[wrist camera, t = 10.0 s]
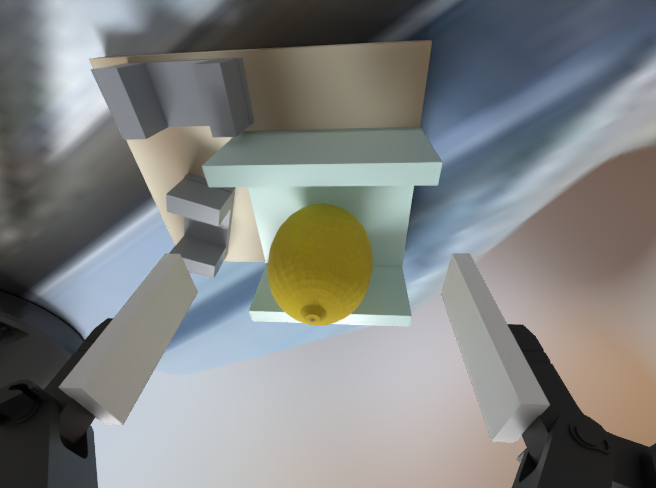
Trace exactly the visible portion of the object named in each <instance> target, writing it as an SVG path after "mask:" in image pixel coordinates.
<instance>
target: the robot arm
mask: <svg viewBox="0 0 656 488" xmlns="http://www.w3.org/2000/svg"><path fill="white" fill-rule="evenodd" d="M197 293H198V292H197V289H196V287H195V285H194V283H193V281H192V279H191V276H190V274H189V272H188V270H187V268H186V266H185V263H184V261H183V259H182V257H181V255H180V254H165V255H164V256H163V257H162V259H161V260H160V261H159V262H158V263H157V265H156V266H155V267H154V268H153V270H152V271H151V272H150V273H149V275H148V276H147V277H146V278H145V280H144V281H143V282H142V283H141V285H140V286H139V287H138V288H137V290H136V291H135V292H134V293H133V295H132V296H131V297H130V298H129V300H128V301H127V302H126V303H125V305H124V306H123V307H122V308H121V310H120V311H119V312H118V313H117V315H116V316H115V317H114V318H108V319H106V320H105V321H104V322H102V323H101V324H100V325H99V326H97V327H96V328H95V329H94V330H93V331H92V332H91V333H90V335H89V336H88V337H87V338H86V339H85V342H83V340H82V339H81V338H80V336H79V335H78V334H77V333H76V332H75V331H74V330H73V329H72V328H71V327H69V326H68V325H67V324H66V323H64V322H63V321H62V320H60V319H59V318H57V317H56V316H54V315H53V314H51V313H49V312H48V311H46V310H44V309H42V308H40V307H38V306H36V305H34V304H32V303H30V302H28V301H26V300H23V299H21V298H18V297H16V296H13V295H10V294H7V293H4V292H1V291H0V488H98V483H97V471H96V457H95V445H94V432H93V429H92V426H90V425H91V423H92V421H93V420H94V418H95V417H96V418H97V419H98V420H99V421H101V422H102V423H103V424H113V425H114V424H115V425H123V424H124V423H125V421H126V419H127V417H128V416H129V414H130V412H131V410H132V408H133V407H134V405H135V403H136V401H137V400H138V398H139V396H140V394H141V393H142V391H143V389H144V387H145V385H146V384H147V382H148V380H149V378H150V376H151V375H152V373H153V371H154V369H155V368H156V366H157V364H158V362H159V361H160V359H161V357H162V355H163V353H164V352H165V350H166V348H167V346H168V345H169V343H170V341H171V339H172V337H173V336H174V334H175V332H176V330H177V329H178V327H179V325H180V323H181V321H182V320H183V318H184V316H185V314H186V313H187V311H188V309H189V307H190V305H191V304H192V302H193V300H194V298H195V297H196V295H197ZM441 296H442V298H443V302H444V305H445V307H446V310H447V313H448V316H449V319H450V322H451V325H452V327H453V331H454V334H455V337H456V339H457V342H458V345H459V348H460V351H461V354H462V357H463V360H464V362H465V366H466V369H467V371H468V374H469V377H470V380H471V383H472V386H473V388H474V392H475V395H476V397H477V400H478V403H479V406H480V409H481V412H482V415H483V418H484V420H485V423H486V427H487V429H488V432H489V435H490V438H491V441H492V442H512V443H516V442H517V440H518V439H519V438H520V437H521V436H522V437H523V439H524V442H525V444H526V446H527V448H526V449H525V450H524V451H523V452H522V453H521V454H520V455H519V457H518V458H517V460H518V461H519V462H521V463H520V466H519V469H518V472H517V475H516V478H515V480H514V483H513V486H512V488H656V443H655V444H654V445H652V446H650V447H648V446H644V445H642V444H639V443H636V442H633V441H630V440H627V439H624V438H621V437H618V436H616V435H613V434H611V433H609V432H606V431H605V430H604V429H603V428H602V426H601V425H599V424H598V423H597V422H595V421H594V420H592V419H591V418H590V417H588V416H586V415H584V414H583V413H582V412H581V410H580V409H579V407H578V406H577V404H576V403H575V401H574V400H573V398H572V396H571V395H570V393H569V391H568V390H567V388H566V386H565V385H564V383H563V381H562V379H561V378H560V376H559V374H558V373H557V371H556V370H555V368H554V366H553V365H552V364H551V363H550V360H549V358H548V356H547V355H546V353H544V351H543V348H542V346H541V345H540V343H539V341H538V340H537V338H536V336H535V335H533V334H532V333H531V332H530V331H529V330H528V329H527V328H526V327H525V326H524V325H513V324H507V323H506V321H505V319H504V317H503V316H502V314H501V312H500V310H499V308H498V306H497V304H496V302H495V300H494V299H493V297H492V295H491V293H490V291H489V289H488V287H487V286H486V284H485V282H484V280H483V278H482V276H481V274H480V272H479V271H478V268H477V267H476V265H475V263H474V261H473V259H472V257H471V255H470V254H452V257H451V261H450V264H449V268H448V271H447V275H446V279H445V282H444V286H443V289H442V293H441Z"/></svg>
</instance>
